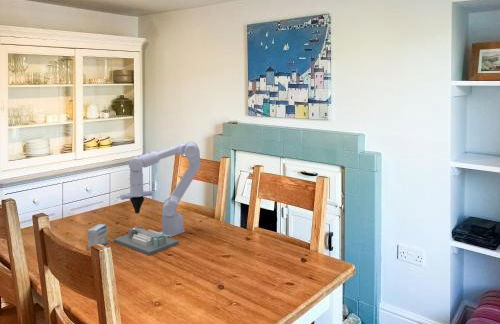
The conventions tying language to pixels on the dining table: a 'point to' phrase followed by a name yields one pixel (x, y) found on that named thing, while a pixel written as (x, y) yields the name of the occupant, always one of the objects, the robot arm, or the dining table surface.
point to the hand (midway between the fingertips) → (137, 212)
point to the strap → (147, 233)
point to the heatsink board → (142, 248)
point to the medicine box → (97, 235)
